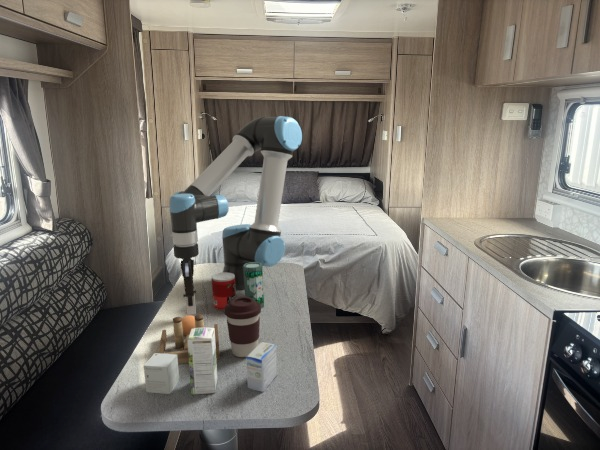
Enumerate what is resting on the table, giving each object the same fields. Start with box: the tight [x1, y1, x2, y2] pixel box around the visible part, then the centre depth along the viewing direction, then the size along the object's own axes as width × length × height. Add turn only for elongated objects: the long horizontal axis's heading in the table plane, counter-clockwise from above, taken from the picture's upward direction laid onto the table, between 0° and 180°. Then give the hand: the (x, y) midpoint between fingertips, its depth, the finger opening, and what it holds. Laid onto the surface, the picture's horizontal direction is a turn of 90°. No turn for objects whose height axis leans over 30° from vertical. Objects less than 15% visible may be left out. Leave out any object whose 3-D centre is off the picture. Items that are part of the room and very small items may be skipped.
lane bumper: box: [157, 323, 221, 365], centre depth 128 cm, size 16×15×3 cm
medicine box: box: [245, 341, 278, 393], centre depth 110 cm, size 8×4×9 cm, turn 157°
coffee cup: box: [223, 296, 262, 358], centre depth 124 cm, size 10×10×15 cm
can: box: [243, 262, 265, 309], centre depth 154 cm, size 6×6×15 cm
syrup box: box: [188, 327, 218, 396], centre depth 108 cm, size 6×6×14 cm
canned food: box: [211, 271, 237, 311], centre depth 155 cm, size 8×8×11 cm
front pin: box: [183, 334, 190, 351], centre depth 127 cm, size 2×2×9 cm
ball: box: [181, 315, 195, 336], centre depth 135 cm, size 6×6×6 cm
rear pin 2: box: [194, 314, 205, 328], centre depth 129 cm, size 2×2×9 cm
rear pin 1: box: [172, 316, 185, 350], centre depth 128 cm, size 2×2×9 cm
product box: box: [143, 352, 180, 395], centre depth 109 cm, size 6×6×7 cm
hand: (191, 313), depth 146 cm, fingers closed
